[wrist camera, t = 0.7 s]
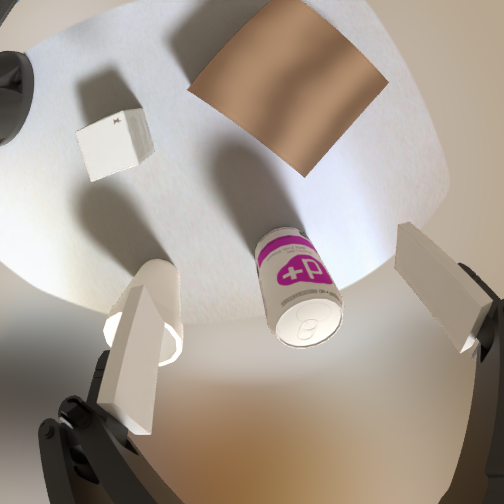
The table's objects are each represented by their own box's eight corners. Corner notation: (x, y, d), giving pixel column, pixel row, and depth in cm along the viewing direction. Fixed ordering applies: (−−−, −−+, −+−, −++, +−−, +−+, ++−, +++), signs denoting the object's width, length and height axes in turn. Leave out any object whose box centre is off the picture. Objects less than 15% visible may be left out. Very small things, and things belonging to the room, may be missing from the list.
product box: (100, 123, 28) (73, 130, 22) (143, 106, 28) (123, 108, 22) (113, 167, 31) (90, 183, 25) (156, 152, 31) (140, 165, 25)
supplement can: (259, 221, 37) (279, 291, 24) (317, 228, 38) (360, 295, 26) (249, 272, 41) (262, 351, 28) (303, 276, 42) (333, 351, 29)
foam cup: (174, 309, 43) (164, 375, 32) (122, 285, 40) (97, 347, 29) (201, 267, 40) (195, 332, 29) (143, 238, 37) (115, 297, 25)
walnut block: (195, 93, 28) (187, 89, 21) (270, 12, 23) (284, -11, 17) (287, 161, 33) (304, 177, 26) (356, 84, 29) (388, 82, 22)
